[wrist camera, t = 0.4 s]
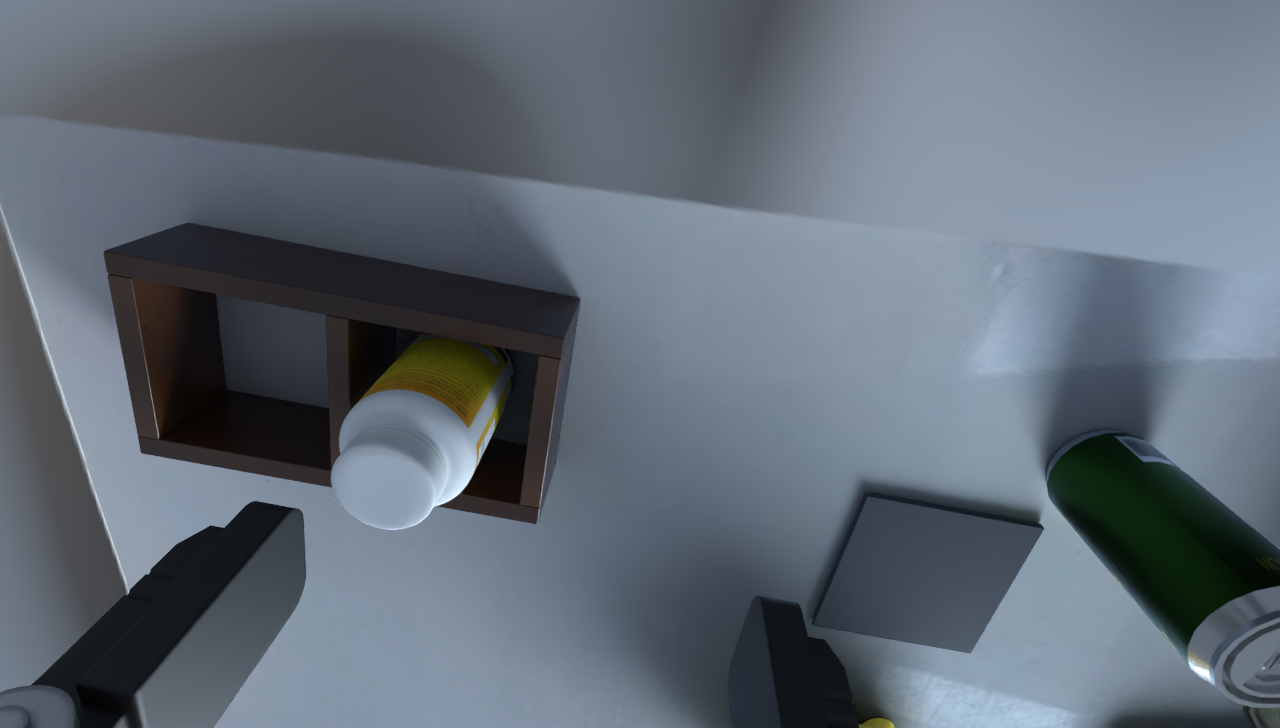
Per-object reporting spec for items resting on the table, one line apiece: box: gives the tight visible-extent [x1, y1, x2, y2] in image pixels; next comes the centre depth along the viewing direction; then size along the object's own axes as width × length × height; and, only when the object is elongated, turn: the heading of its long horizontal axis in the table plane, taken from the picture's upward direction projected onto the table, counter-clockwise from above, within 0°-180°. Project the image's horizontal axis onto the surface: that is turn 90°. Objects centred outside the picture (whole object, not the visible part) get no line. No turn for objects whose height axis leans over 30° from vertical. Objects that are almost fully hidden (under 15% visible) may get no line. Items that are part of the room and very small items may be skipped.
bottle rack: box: [104, 223, 580, 524], centre depth 31 cm, size 10×19×5 cm, turn 79°
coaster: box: [812, 492, 1044, 653], centre depth 37 cm, size 10×10×1 cm
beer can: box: [1046, 430, 1280, 708], centre depth 28 cm, size 5×5×12 cm
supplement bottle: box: [331, 333, 514, 530], centre depth 29 cm, size 6×6×10 cm
